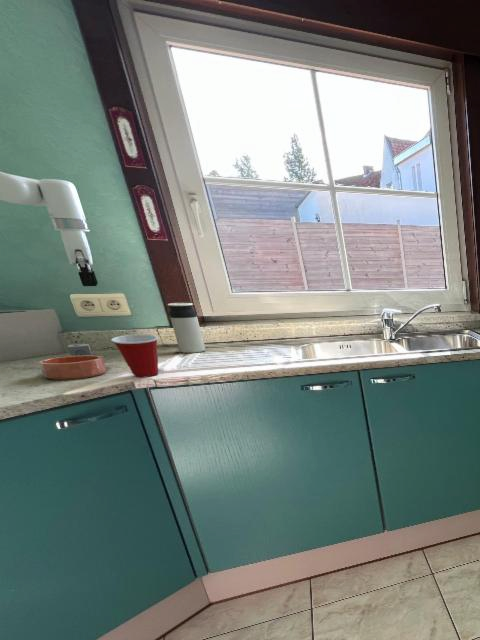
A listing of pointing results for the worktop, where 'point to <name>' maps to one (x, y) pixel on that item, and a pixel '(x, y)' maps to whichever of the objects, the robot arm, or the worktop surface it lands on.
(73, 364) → the bowl
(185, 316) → the travel mug
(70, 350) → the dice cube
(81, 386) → the worktop surface
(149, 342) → the plastic cup
